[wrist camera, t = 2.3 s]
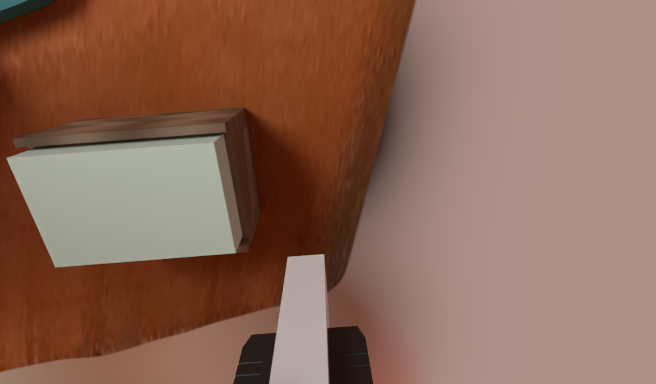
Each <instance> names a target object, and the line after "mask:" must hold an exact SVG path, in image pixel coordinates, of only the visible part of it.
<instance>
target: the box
mask: <svg viewBox="0 0 656 384" xmlns="http://www.w3.org/2000/svg"><path fill="white" fill-rule="evenodd" d="M216 134H224V139H225V145H226V150H227V156H228V161H229V166H230V172H231V177H232V182H233V188H234V193H235V198H236V204H237V209H238V214H239V220H240V225H241V230H242V239H241V241H240V244H239V246H238V249H237V251H236V253H242V252H249V249H250V246H251V242H252V239H253V236H254V233H255V230H256V227H257V224H258V221H259V218H260V215H261V207H260V201H259V195H258V188H257V182H256V176H255V170H254V163H253V157H252V151H251V144H250V138H249V132H248V125H247V119H246V113H245V108H237V109H223V110H210V111H196V112H183V113H169V114H155V115H142V116H128V117H115V118H101V119H88V120H79V121H75V122H72V123H68V124H64V125H61V126H57V127H53V128H50V129H46V130H43V131H39V132H35V133H32V134H28V135H25V136H21V137H17V138H14V139H12V140H13V142H14V145H15V147H16V148H20V147H29V148H30V150H32V149H35V148H41V147H55V146H68V145H81V144H95V143H108V142H122V141H135V140H149V139H162V138H175V137H189V136H202V135H216Z"/></svg>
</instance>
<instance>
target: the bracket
mask: <svg viewBox="0 0 656 384" xmlns="http://www.w3.org/2000/svg"><path fill="white" fill-rule="evenodd" d="M53 1H55V0H0V24H1V23H3V22H6V21H8V20H11V19H13V18H16V17H18V16H21V15H24V14H26V13H29V12H31V11H34V10H36V9H39V8H41V7H44V6H46V5H48V4H50V3H52V2H53Z"/></svg>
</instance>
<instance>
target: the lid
mask: <svg viewBox="0 0 656 384" xmlns="http://www.w3.org/2000/svg"><path fill="white" fill-rule="evenodd" d="M6 159H7V161H8V163H9V165H10V168H11V170H12V172H13V174H14V176H15V179H16V181H17V183H18V185H19V188H20V190H21V192H22V194H23V197H24V199H25V201H26V203H27V205H28V208H29V210H30V212H31V214H32V217H33V219H34V221H35V223H36V225H37V228H38V230H39V232H40V234H41V237H42V239H43V241H44V243H45V245H46V248H47V250H48V252H49V254H50V257H51V259H52V261H53V263H54V266H55V267H67V266H79V265H92V264H105V263H117V262H130V261H143V260H155V259H168V258H181V257H193V256H206V255H219V254H231V253H236V251H237V249H238V246H239V244H240V241H241V239H242V230H241V225H240V220H239V214H238V209H237V204H236V198H235V193H234V188H233V182H232V177H231V172H230V166H229V161H228V156H227V150H226V145H225V139H224V134H216V135H202V136H189V137H175V138H162V139H149V140H135V141H122V142H108V143H95V144H81V145H68V146H55V147H41V148H35V149H32V150H29V151H26V152H23V153H20V154H17V155H14V156H11V157H8V158H6Z"/></svg>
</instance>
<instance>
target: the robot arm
mask: <svg viewBox="0 0 656 384" xmlns="http://www.w3.org/2000/svg"><path fill="white" fill-rule="evenodd" d="M233 384H373V380H372V374H371V369H370V363H369V357H368V351H367V345H366V339H365V337H364V335H363V334H362V333H361V331H360V330H359V328H358V327H357V326H352V327H351V326H350V327H337V328H329V312H328V297H327V285H326V273H325V261H324V254H320V255H306V256H293V257H288V259H287V266H286V272H285V279H284V286H283V293H282V300H281V306H280V314H279V320H278V327H277V333H269V334H256V335H251V337H250V338H249V340H248V341H247V343H246V344H245V345H244V346H243V348H242V352H241V356H240V360H239V365H238V368H237V371H236V378H235V379H234V383H233Z"/></svg>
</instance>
